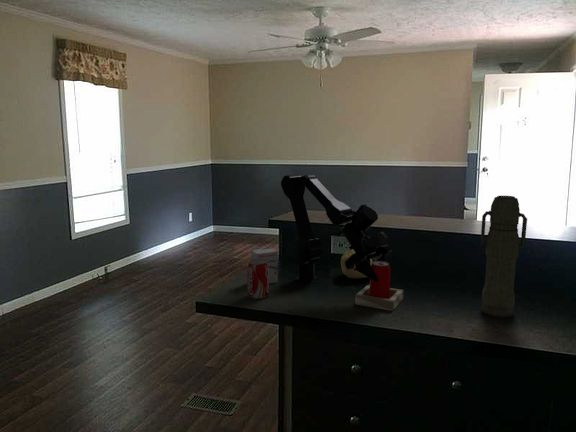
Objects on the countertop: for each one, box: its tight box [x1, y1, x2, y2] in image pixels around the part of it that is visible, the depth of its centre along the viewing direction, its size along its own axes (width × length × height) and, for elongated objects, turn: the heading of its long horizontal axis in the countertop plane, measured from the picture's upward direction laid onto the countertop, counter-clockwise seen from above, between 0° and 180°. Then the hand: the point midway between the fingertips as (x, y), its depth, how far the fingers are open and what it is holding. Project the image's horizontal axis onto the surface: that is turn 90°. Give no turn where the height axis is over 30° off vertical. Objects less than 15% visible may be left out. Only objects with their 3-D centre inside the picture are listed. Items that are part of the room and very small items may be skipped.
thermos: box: [480, 195, 528, 318], centre depth 139 cm, size 9×12×35 cm
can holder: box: [354, 284, 404, 312], centre depth 151 cm, size 12×12×3 cm
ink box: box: [250, 248, 279, 284], centre depth 170 cm, size 9×5×12 cm, turn 117°
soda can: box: [246, 259, 270, 300], centre depth 155 cm, size 7×7×12 cm
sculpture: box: [340, 248, 374, 279], centre depth 177 cm, size 12×12×11 cm
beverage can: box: [369, 261, 391, 299], centre depth 150 cm, size 6×6×12 cm
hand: (383, 279), depth 149 cm, fingers closed on beverage can, 6 cm apart
